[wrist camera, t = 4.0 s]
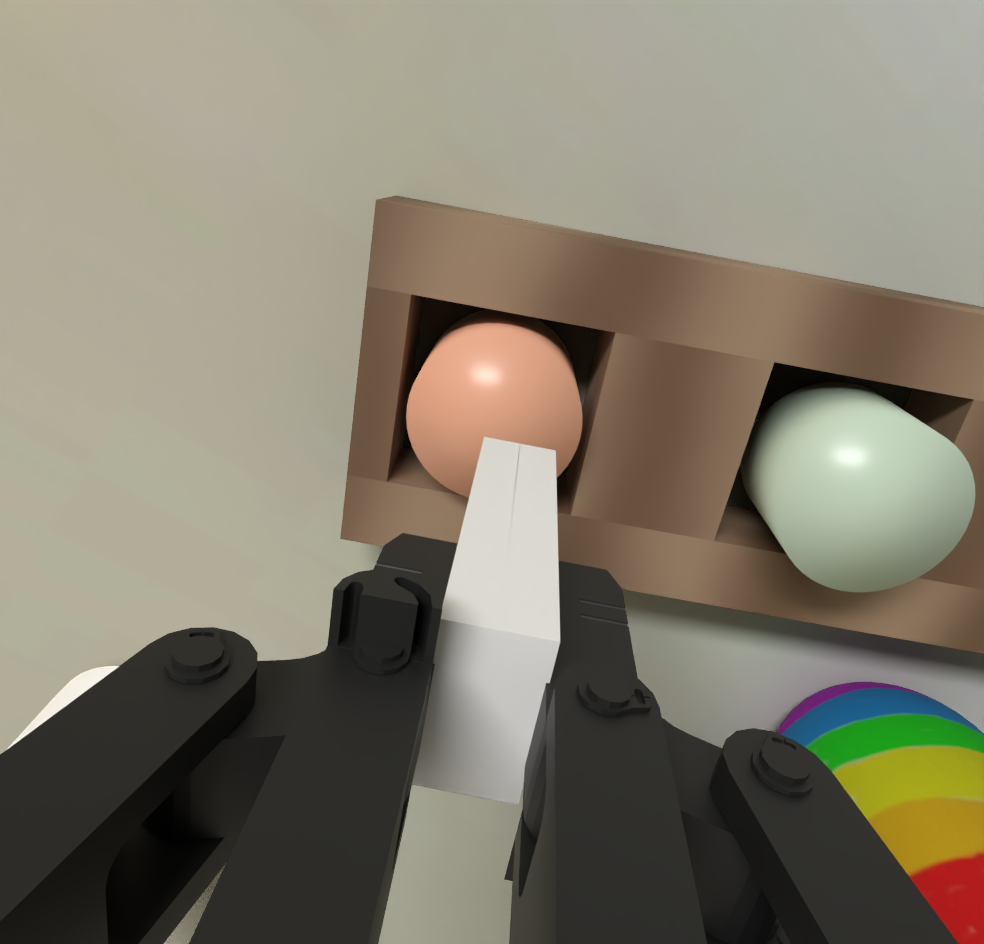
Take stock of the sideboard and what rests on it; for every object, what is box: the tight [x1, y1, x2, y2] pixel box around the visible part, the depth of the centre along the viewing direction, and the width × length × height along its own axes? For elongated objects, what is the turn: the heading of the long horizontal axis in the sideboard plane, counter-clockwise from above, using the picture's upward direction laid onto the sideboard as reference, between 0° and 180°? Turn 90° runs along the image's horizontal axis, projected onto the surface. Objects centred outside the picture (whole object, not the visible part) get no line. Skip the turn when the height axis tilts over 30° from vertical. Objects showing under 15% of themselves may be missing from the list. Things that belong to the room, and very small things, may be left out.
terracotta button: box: [406, 309, 582, 498], centre depth 21 cm, size 5×5×4 cm
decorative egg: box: [777, 682, 984, 944], centre depth 24 cm, size 8×8×10 cm
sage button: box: [741, 382, 975, 592], centre depth 20 cm, size 5×5×4 cm
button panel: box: [341, 196, 984, 654], centre depth 22 cm, size 28×10×3 cm, turn 80°
